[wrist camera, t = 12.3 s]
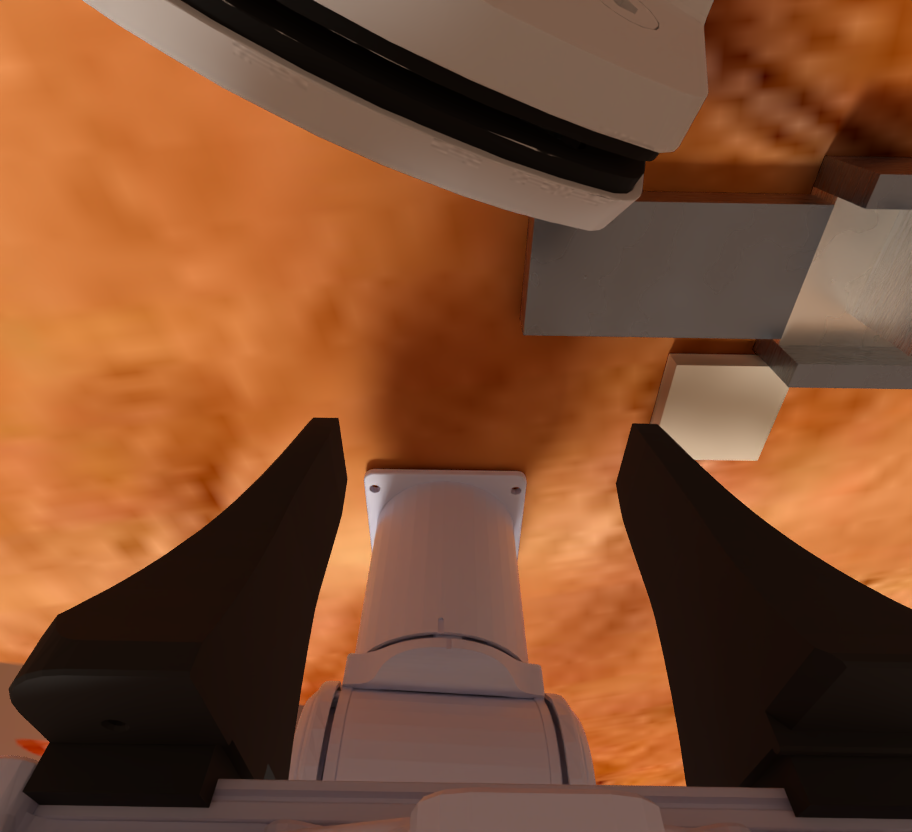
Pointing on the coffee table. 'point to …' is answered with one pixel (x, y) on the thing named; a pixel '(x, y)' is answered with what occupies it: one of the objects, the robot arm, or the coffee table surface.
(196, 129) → the coffee table surface
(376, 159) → the grey rounded housing
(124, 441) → the coffee table surface
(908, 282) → the block
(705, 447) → the pad
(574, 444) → the coffee table surface
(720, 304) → the flange rail
